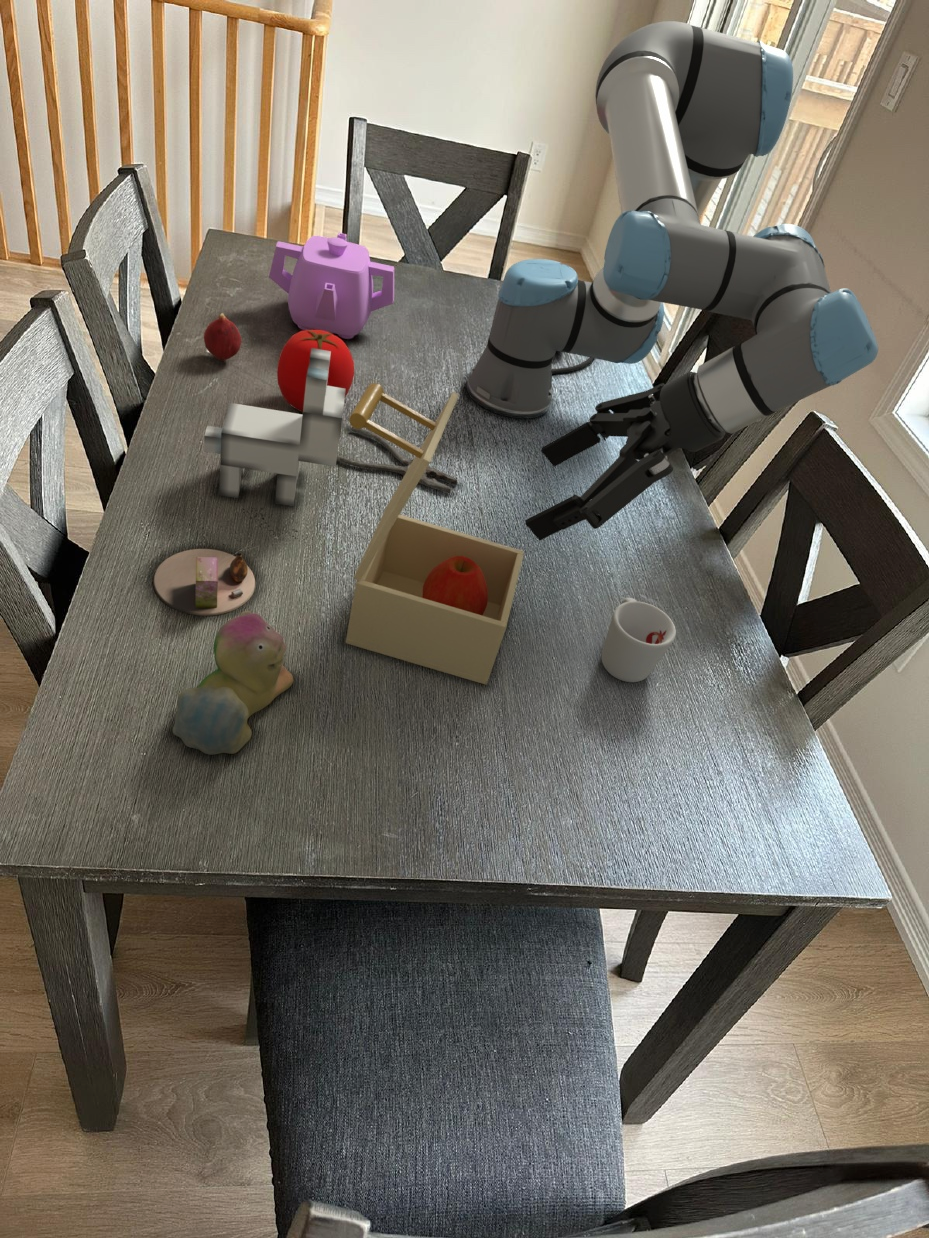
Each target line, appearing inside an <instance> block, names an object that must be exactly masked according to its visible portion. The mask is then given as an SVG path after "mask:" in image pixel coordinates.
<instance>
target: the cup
mask: <svg viewBox="0 0 929 1238" xmlns="http://www.w3.org/2000/svg"><path fill="white" fill-rule="evenodd" d="M676 635H677V631H676V627H675V624H674V622H673V620H672V619H671V618H670V616H669V615H668V614H667V613H666V612H664V611H663V610H662V609H661V608H659V607H657V606H655V605H653V604H651V603H649V602H648V603H647V602H644V601H638V600H636V599H635V598H634V597H625V598H624V599H622V601H621V602H620V604H619V605H618V606H617V607H616V608H615V609H614V611H613V613H612V617H611V620H610V623H609V626H608V630H607V632H606V636H605V640H604V643H603V646H602V651H601V662H602V665H603V667H604V669H605V670H606V671H607V672H608V673H609V674H610V675H611V676H612V677H613V678H616V679H618V680H619V681H623V682H627V683H637V682H641V681H644V680H645V679H647V678H648V677H649V676H650V675H651V673H652V672H653V671H654V670H655V668H656V667H657V665H658V664H659V662H660V661H661V659H662V658H663V657H664V656H665V654H666V653H667V651H668V649H669V648H670V647H671V646H672V644H673V643H674V642H675V639H676Z"/></svg>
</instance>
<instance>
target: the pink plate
mask: <svg viewBox="0 0 929 1238" xmlns="http://www.w3.org/2000/svg"><path fill="white" fill-rule="evenodd" d="M152 585H153V589H154V592H155V593H156V595H157V597H158V598H159V599H160V600H161V601H162V602H163V603H164V604H166V605H167V606H168V607H170V608H172V609H174V610H176V611H178V612H180V613H183V614H188V615H193V616H200V617H201V616H204V617H211V616H218V615H223V614H227V613H230V612H233V611H235V610H237V609H239V608H241V607H242V606H243V605H245V604H246V603H247V602H249V600H250V599H251V598H252V597H253V594H254V592H255V590H256V578H255V575H254V573H253V571H252V569H251V568H250V567H249V566H248V564H247V562H246V561H245V559H244V557H243V552H242V550H237V553H236V556H235V555H233V554H231V553H229V552H226V551H223V550H218V549H210V548H193V549H188V550H183V551H180V552H178V553H175V554H173V555H171V556H169V557H168V558H166V559H164V560H163V561H162V562H161V563H160V564H159V565H158V567H157V568H156V570H155V572H154V574H153V577H152Z"/></svg>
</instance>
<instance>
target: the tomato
mask: <svg viewBox="0 0 929 1238" xmlns="http://www.w3.org/2000/svg"><path fill="white" fill-rule="evenodd" d="M311 348H315V349H320V350H326V351H331V355H330V363H329V372H328V380H327V386H332V387H338V388H344V389H345V398H346V397H347V395H348V393H349V391H350V389H351V386H352V384H353V382H354V376H355V361H354V359H353V356H352V353H351V350H350V349H349V347H348V346H347V344H346V343H345V342H344V340H342V339H341V337H339V336H338V335H335V334H334V333H331V332H327V331H323V330H316V329H313V330H307V329H306V330H300V331H298V332H296V333H295V334H293V335H292V336H291V337H290V338H289V339H288V340H287V342H286V343H285V344H284V345H283V348H282V350H281V352H280V355H279V358H278V363H277V368H276V369H277V370H276V377H277V385H278V388H279V390H280V393H281V395H282V397H283V398H284V400H285V401H286V402H287V404H288V405H290V406H291V407H292V408H293V409H296V410H297V411H300V412H302V413H303V407H304V397H305V387H306V377H307V371H308V367H309V361H310V354H311Z"/></svg>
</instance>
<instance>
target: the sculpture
mask: <svg viewBox="0 0 929 1238" xmlns="http://www.w3.org/2000/svg"><path fill="white" fill-rule="evenodd" d="M286 651H287V644H286V643H285V641H284V636H283V634H281V633H279V632H277V630H276V629H275V628H274V627H273V626H272V625H270V624H269V623H268V622H266V620H265V619H264V618H263V617H262V615H260V614H259V613H254V612H252V611H251V610H244V611H242V612H240V613H239V615H238V616H235V617H232V618H231V619H229V620H227V621H226V622H224V624H222V626H221V627H220V628H219V630H218V632H217V633H216V635H215V638H214V641H213V657H214V660H215V665H216V669H215V670H213V671H212V672H210V673H208V674H207V675H206V676H205V677H204V678H203V679H202V680H201V681H200V683H199V684H198V685H197V686H196V687H190V688H185V689H183V690H182V691H181V692H180V693H179V694H178V697H177V700H176V706H177V710H176V713H175V716H174V725H173V727H172V734H173V735H174V736H176V737H179V739H181V740H182V742H183V744H184V745H185V746H186V747H188V748H191V749H196V750H199V751H200V752H202V753H204V754H206V755H219V754H230V755H232V754H236V753H238V752H239V751H240V750H241V749H243V747H244V746H245V745H246V744H247V743H248V742H249V741H250V739H251V738H252V729H251V727H250V726H249V724H248V719H249V718H250V717H251V716H253V715H254V714H255V713H257V712H259V711H261V710H263V709H264V708H267V706H268V705H270V704H271V703H273V701H274V700H275V698H277V697H278V696H279V695H281V694H282V693H284V692H285V691H287V690H288V689H289V688H291V687H292V686H293V683H294V676H293V674H292V673H291V672H290V671H288V670H287V668H286V667H285V666H284V665H283V664H284V661H285V657H286V656H285V654H286Z"/></svg>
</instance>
